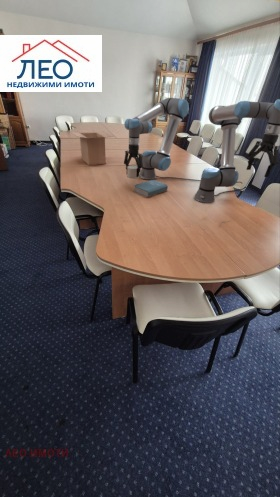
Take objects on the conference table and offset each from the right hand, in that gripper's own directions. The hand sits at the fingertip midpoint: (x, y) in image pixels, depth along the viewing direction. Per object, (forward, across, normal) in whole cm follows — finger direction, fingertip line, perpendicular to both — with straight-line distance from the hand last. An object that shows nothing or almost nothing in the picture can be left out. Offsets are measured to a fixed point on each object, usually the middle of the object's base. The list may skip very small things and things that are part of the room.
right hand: (256, 173), depth 132 cm
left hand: (+19, -67, -52) cm, 87 cm away
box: (+30, -151, -62) cm, 167 cm away
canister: (+20, -66, -52) cm, 87 cm away
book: (+30, -59, -39) cm, 77 cm away
